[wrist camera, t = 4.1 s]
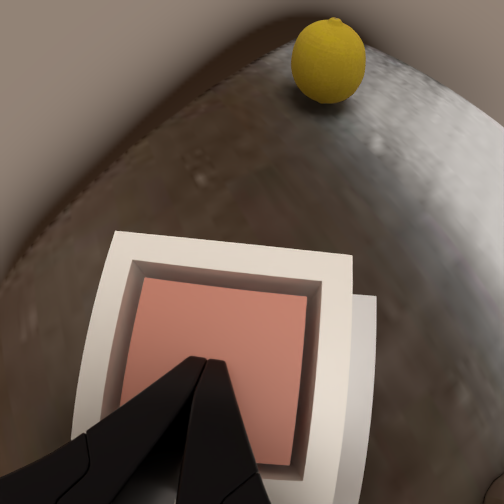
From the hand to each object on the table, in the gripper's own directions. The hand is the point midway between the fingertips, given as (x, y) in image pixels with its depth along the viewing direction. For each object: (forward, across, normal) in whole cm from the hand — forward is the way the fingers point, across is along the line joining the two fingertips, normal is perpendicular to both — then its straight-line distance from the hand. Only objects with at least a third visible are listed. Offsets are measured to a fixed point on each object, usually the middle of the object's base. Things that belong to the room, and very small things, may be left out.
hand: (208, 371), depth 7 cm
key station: (+3, 0, +9) cm, 10 cm away
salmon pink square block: (+2, 0, +2) cm, 3 cm away
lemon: (+21, -4, -9) cm, 23 cm away
